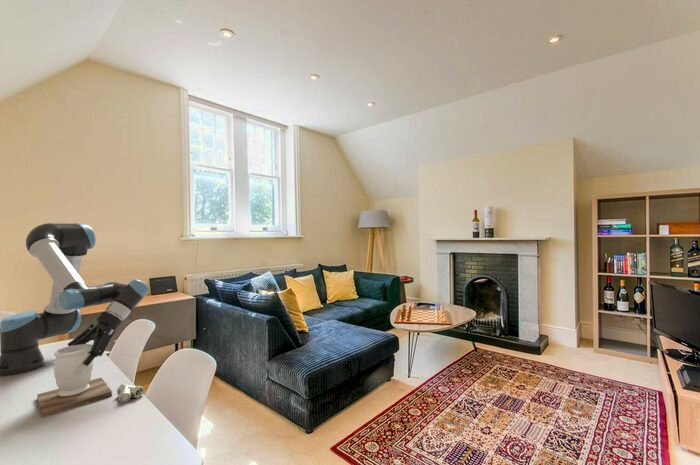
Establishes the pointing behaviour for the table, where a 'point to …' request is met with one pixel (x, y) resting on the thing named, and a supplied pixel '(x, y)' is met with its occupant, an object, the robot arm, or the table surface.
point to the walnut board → (72, 398)
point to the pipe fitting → (129, 392)
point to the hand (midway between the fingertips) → (65, 370)
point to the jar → (65, 365)
